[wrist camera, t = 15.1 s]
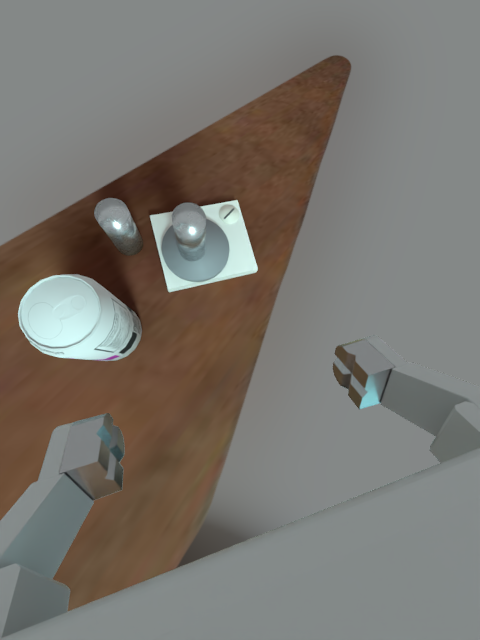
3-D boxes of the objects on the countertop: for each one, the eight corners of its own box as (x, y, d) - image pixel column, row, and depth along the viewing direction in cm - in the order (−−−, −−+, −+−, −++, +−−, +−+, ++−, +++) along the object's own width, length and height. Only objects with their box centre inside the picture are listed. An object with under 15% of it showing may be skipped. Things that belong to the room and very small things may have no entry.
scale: (169, 292, 42) (166, 287, 39) (151, 220, 43) (148, 211, 41) (256, 272, 44) (259, 266, 41) (236, 205, 46) (238, 196, 43)
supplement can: (102, 372, 38) (39, 375, 24) (72, 323, 39) (-7, 297, 24) (153, 340, 40) (124, 325, 25) (124, 294, 41) (79, 253, 26)
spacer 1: (118, 257, 42) (97, 230, 33) (113, 233, 42) (91, 200, 34) (145, 252, 42) (131, 224, 34) (140, 228, 43) (124, 195, 34)
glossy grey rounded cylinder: (181, 263, 40) (176, 236, 32) (175, 238, 41) (168, 205, 32) (208, 258, 41) (209, 230, 32) (201, 233, 41) (201, 199, 33)
